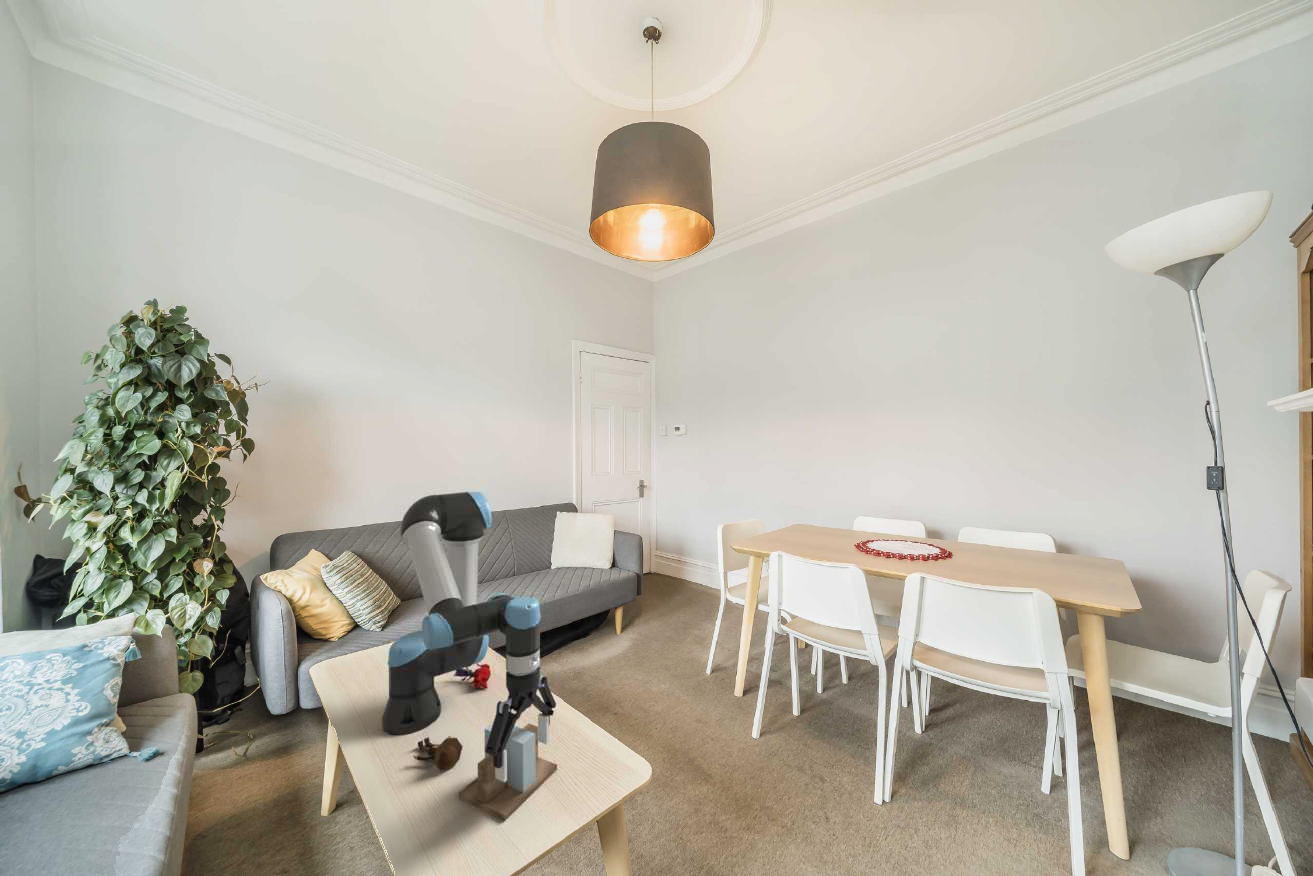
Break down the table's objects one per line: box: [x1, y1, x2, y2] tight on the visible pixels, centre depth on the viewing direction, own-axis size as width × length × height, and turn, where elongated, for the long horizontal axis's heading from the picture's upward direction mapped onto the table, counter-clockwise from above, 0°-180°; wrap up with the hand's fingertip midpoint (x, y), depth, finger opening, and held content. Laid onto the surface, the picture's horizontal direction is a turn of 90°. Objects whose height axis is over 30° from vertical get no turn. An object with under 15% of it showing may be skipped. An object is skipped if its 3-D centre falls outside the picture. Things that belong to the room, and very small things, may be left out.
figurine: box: [453, 663, 492, 690], centre depth 153 cm, size 6×8×15 cm
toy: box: [412, 735, 463, 772], centre depth 117 cm, size 10×7×15 cm
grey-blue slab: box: [484, 722, 536, 793], centre depth 109 cm, size 12×4×11 cm, turn 63°
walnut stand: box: [458, 723, 558, 822], centre depth 109 cm, size 14×17×9 cm
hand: (523, 759), depth 107 cm, fingers open, 13 cm apart
